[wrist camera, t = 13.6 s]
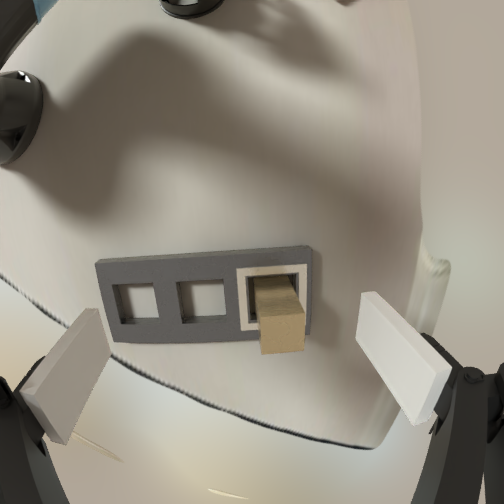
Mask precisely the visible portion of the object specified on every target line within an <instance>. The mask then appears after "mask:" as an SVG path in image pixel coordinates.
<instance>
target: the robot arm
mask: <svg viewBox="0 0 504 504" xmlns="http://www.w3.org/2000/svg"><path fill="white" fill-rule="evenodd" d="M57 1H58V0H0V70H1V68H2V67H3V66H4V64H5V63H6V61H7V60H8V59H9V57H10V56H11V55H12V54H13V52H14V51H15V50H16V48H17V47H18V46H19V45H20V43H21V42H22V41H23V40H24V39H25V37H26V36H27V35H28V34H29V33H30V32H31V31H32V29H33V28H34V27H35V26H36V25H38V24H39V23H40V22H41V19H42V18H43V17H44V16H45V14H46V13H47V12H48V11H49V10H50V9H51V8H52V7H53V6H54V5H55V4H56V3H57ZM42 104H43V95H42V89H41V85H40V83H39V81H38V80H37V78H36V77H35V76H33V75H31V74H29V73H26V72H24V71H10V72H4V73H0V164H7V163H10V162H12V161H14V160H16V159H17V158H18V157H19V156H20V155H21V154H22V153H23V152H24V151H25V150H26V148H27V147H28V145H29V144H30V142H31V140H32V138H33V136H34V134H35V132H36V130H37V127H38V124H39V121H40V117H41V112H42ZM355 339H356V341H357V342H358V344H359V345H360V346H361V348H362V349H363V351H364V352H365V354H366V355H367V357H368V358H369V360H370V361H371V363H372V364H373V366H374V367H375V369H376V370H377V372H378V373H379V375H380V376H381V378H382V379H383V381H384V382H385V384H386V385H387V387H388V388H389V390H390V391H391V393H392V394H393V396H394V398H395V399H396V401H397V402H398V404H399V405H400V407H401V408H402V410H403V412H404V413H405V414H406V416H407V418H408V419H409V421H410V422H411V424H412V425H413V426H416V425H418V424H421V423H424V422H426V421H428V420H429V418H430V417H431V415H432V413H433V411H435V412H436V414H437V415H438V417H437V419H436V421H435V423H434V424H433V426H432V428H431V430H430V432H429V434H431V433H432V431H433V433H432V438H431V442H430V445H429V449H428V453H427V456H426V460H425V463H424V467H423V470H422V473H421V476H420V479H419V482H418V485H417V488H416V491H415V493H414V496H413V499H412V501H411V504H478V500H479V494H480V489H481V484H482V477H483V472H484V482H485V498H486V504H504V363H502V364H501V365H500V367H499V369H498V371H497V373H495V374H488V375H485V374H484V373H483V372H482V371H481V370H479V369H478V368H474V367H464V368H463V367H462V366H461V365H460V364H459V363H458V362H457V361H456V360H455V359H454V358H453V357H452V356H451V355H450V354H449V353H448V352H447V351H445V349H444V348H443V347H442V346H441V345H440V344H439V343H438V342H437V341H436V340H435V339H434V338H433V337H431V336H429V335H427V334H425V333H421V334H419V333H418V332H417V331H416V330H415V329H414V328H413V327H412V326H411V325H410V324H409V323H408V322H407V321H406V320H405V319H404V318H403V317H402V316H401V315H400V314H399V313H397V312H396V311H395V310H394V309H393V308H392V307H391V306H390V305H389V304H388V303H387V302H386V301H385V300H384V299H383V298H382V297H381V296H380V295H378V294H377V293H376V292H375V291H371V292H363V293H361V301H360V310H359V317H358V324H357V331H356V338H355ZM111 354H112V353H111V350H110V347H109V344H108V341H107V338H106V334H105V331H104V328H103V324H102V321H101V317H100V314H99V310H98V309H85V310H84V311H83V312H82V313H81V314H80V316H79V317H78V318H77V319H76V320H75V321H74V323H73V324H72V325H71V326H70V327H69V328H68V330H67V331H66V332H65V333H64V335H63V336H62V337H61V338H60V339H59V341H58V342H57V343H56V344H55V345H54V347H53V348H52V349H51V350H50V352H49V353H48V354H47V355H46V356H44V357H42V358H41V359H39V360H38V361H37V362H36V363H35V364H34V365H33V366H32V368H31V370H29V371H28V373H27V375H26V376H25V377H24V378H23V379H22V381H21V382H20V383H19V385H18V386H17V387H16V389H15V390H14V392H13V393H12V391H11V389H10V387H9V386H8V384H7V382H6V380H5V379H4V378H3V377H1V376H0V504H70V503H69V501H68V499H67V497H66V495H65V492H64V490H63V488H62V486H61V483H60V481H59V478H58V476H57V474H56V471H55V468H54V466H53V463H52V460H51V458H50V455H49V452H48V449H47V446H46V443H45V442H44V440H43V439H42V437H43V435H44V433H46V434H47V436H48V437H49V438H50V440H51V441H52V442H56V443H59V444H63V445H67V442H68V440H69V438H70V436H71V434H72V431H73V429H74V427H75V425H76V422H77V421H78V418H79V416H80V414H81V412H82V410H83V408H84V406H85V404H86V402H87V400H88V398H89V396H90V394H91V391H92V390H93V388H94V386H95V384H96V382H97V380H98V378H99V376H100V374H101V372H102V370H103V369H104V367H105V365H106V363H107V361H108V359H109V357H110V355H111Z"/></svg>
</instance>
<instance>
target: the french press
mask: <svg viewBox="0 0 504 504" xmlns="http://www.w3.org/2000/svg"><path fill="white" fill-rule="evenodd" d="M223 1H224V0H198V3H195V4H190V5H175V4H170V3H169V0H159V2H160V6H161V8H162V10H163V11H164V12H165V13H167V14H168V15H170V16H173V17H176V18H183V19H189V18H196V17H201V16H204V15H206V14H209V13H211V12H212V11H214V10H215V9H217V8H218V7H219V6H220V5H221V4H222V3H223Z"/></svg>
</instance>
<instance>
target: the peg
mask: <svg viewBox="0 0 504 504" xmlns="http://www.w3.org/2000/svg"><path fill="white" fill-rule="evenodd" d="M253 280H254V298H255V311H256V318H257V325H258V332H259V339H260V346H261V353H262V354H274V353H284V352H294V351H303V350H304V341H305V311H304V309H303V307H302V305H301V303H300V301H299V299H298V297H297V295H296V293H295V291H294V289H293V287H292V285H291V283H290V281H289V278H288V276H287V275H284V276H270V277H256V278H253Z"/></svg>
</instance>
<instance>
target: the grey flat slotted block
mask: <svg viewBox="0 0 504 504" xmlns="http://www.w3.org/2000/svg"><path fill="white" fill-rule="evenodd" d="M95 268H96V273H97V278H98V283H99V287H100V291H101V296H102V300H103V304H104V308H105V312H106V316H107V320H108V323H109V327H110V330H111V334H112V337H113V341H114V342H125V343H194V342H221V341H239V340H254V339H259V332H258V325H257V318H256V313H250V306H249V290H248V277H261V276H275V275H289V274H293V289H294V291H295V293H296V295H297V297H298V299H299V301H300V303H301V305H302V307H303V309H304V311H305V335H308V334H310V320H311V286H312V249H311V248H310V247H309V246H293V247H277V248H262V249H246V250H231V251H215V252H200V253H185V254H170V255H155V256H140V257H125V258H110V259H100V260H99V261H97V262H96V263H95ZM215 279H223V282H224V293H225V303H226V314H227V315H217V316H195V317H184V310H183V304H182V298H181V291H180V284H179V281H197V280H215ZM135 283H153V286H154V292H155V297H156V303H157V308H158V313H159V318H125V314H124V310H123V305H122V301H121V296H120V292H119V287H118V284H135Z"/></svg>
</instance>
